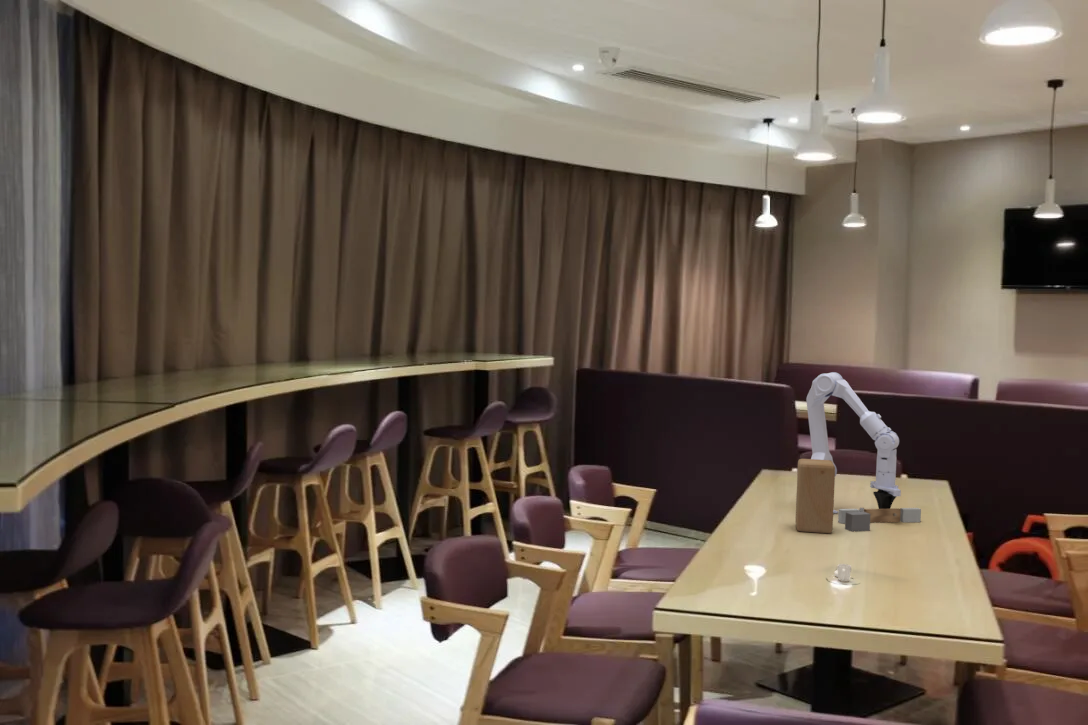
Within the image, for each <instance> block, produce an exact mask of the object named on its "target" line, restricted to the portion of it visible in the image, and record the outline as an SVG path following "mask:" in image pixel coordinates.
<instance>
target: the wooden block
mask: <svg viewBox="0 0 1088 725" xmlns="http://www.w3.org/2000/svg"><path fill="white" fill-rule="evenodd" d="M833 463H834V461H833V462H832V461H830V460H817V459H811V458H800V459H798V461H797V470H796V471H797V473H796V474H797V476H796V496H795V497H796V499H795V500H796V501H795V521H794V522H795V527H796V530H797V531H798V532H801V533H813V534H814V533H817V534H818V533H819V534H832V532H833V529H834V528H833V526H834V513H833V509H834V508H835V507H834V505H835V503H834V501H835V485H836V484H835V482H836V480H835V479H836V476H835V466H836V465H835V466H834V464H835V463H834V464H833Z"/></svg>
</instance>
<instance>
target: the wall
mask: <svg viewBox="0 0 1088 725" xmlns="http://www.w3.org/2000/svg"><path fill="white" fill-rule="evenodd" d="M864 509H865V508H864V507H859V509H858V508H839V509H838V513H837V515H838V516H837V517H838V518H837V519H838V520H837V522H838V523H840V525H841V524H844V525H845V517H846V512H864ZM899 509H901V512H900V523H921V520H922V519H921V518H922V516H921V515H922V508H918V507H899Z"/></svg>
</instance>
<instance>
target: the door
mask: <svg viewBox="0 0 1088 725" xmlns="http://www.w3.org/2000/svg"><path fill="white" fill-rule="evenodd" d="M864 512H866V513H869V514H871V515H870V522H871V523H870V524H873V523H874V522H876V523H877V522H880V523H901V521H900V512H901V509H900V507H899V508H896V507H895V508H890V509H879V508H864ZM874 524H875V523H874Z"/></svg>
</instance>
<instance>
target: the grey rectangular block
mask: <svg viewBox="0 0 1088 725" xmlns="http://www.w3.org/2000/svg"><path fill="white" fill-rule="evenodd" d="M870 515H871V514H869V513H866V512H846V517H845V524H844V529H845V530H847V531H849V532H854V531H855V532H869V531H871V523H870Z"/></svg>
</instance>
